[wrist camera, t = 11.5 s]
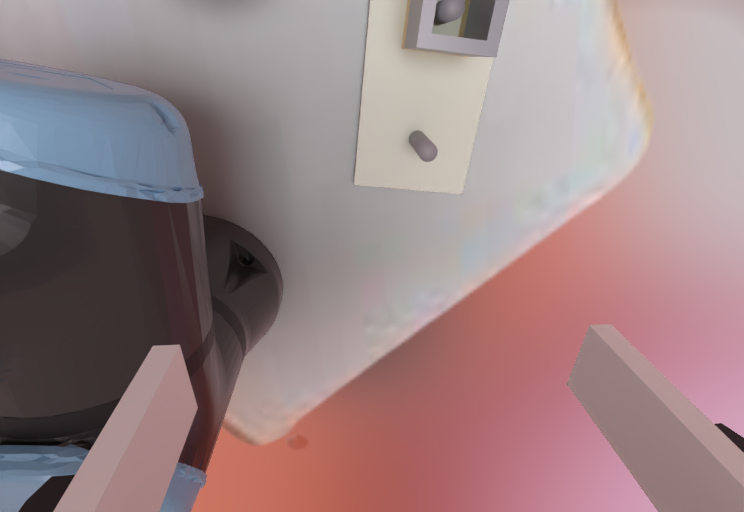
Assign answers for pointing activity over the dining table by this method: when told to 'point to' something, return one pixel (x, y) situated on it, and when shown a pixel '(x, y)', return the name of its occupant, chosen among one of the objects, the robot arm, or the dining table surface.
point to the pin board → (417, 105)
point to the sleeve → (475, 33)
